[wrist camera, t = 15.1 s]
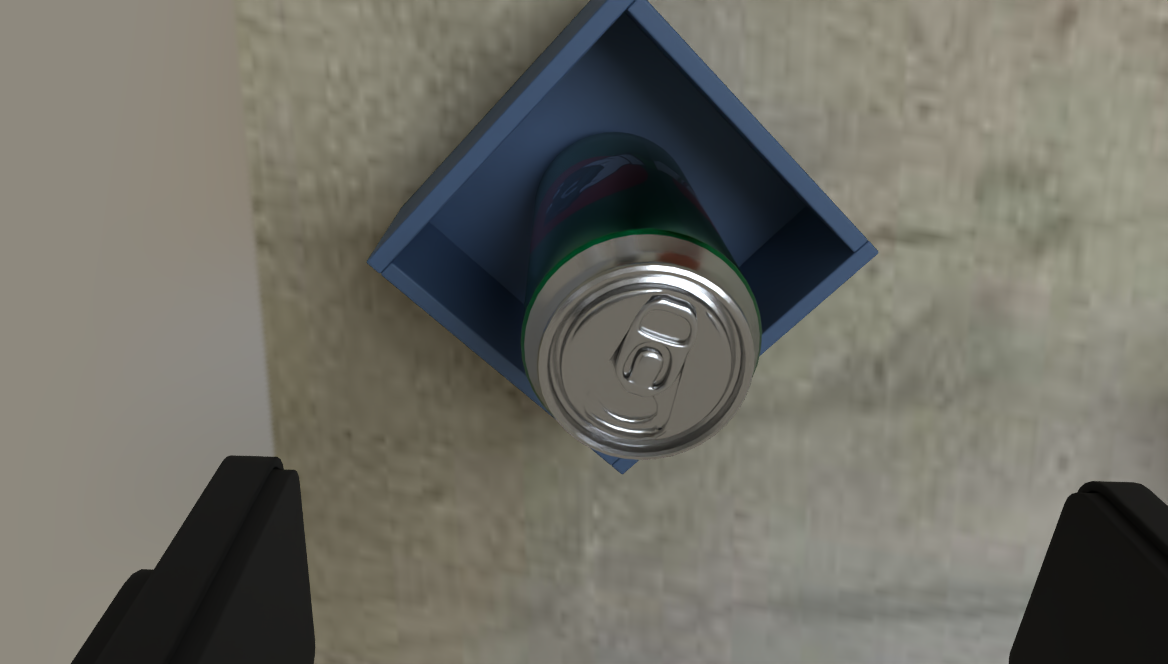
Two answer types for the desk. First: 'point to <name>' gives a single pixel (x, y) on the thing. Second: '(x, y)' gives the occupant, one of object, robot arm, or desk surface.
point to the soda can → (633, 303)
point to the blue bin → (596, 105)
